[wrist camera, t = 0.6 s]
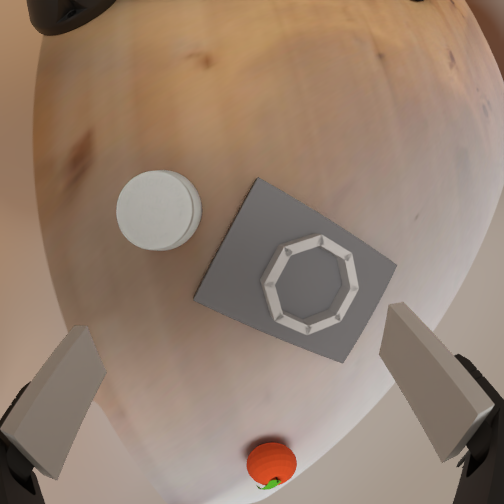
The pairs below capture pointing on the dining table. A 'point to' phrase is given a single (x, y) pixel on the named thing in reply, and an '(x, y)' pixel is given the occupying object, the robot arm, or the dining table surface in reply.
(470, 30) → the dining table surface
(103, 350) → the dining table surface
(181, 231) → the pill bottle
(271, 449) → the clementine
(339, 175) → the dining table surface
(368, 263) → the collar plate
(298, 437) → the dining table surface
